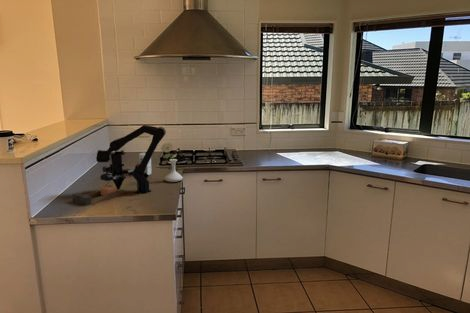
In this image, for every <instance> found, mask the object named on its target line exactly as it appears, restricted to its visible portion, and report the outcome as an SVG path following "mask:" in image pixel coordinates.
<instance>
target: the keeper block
mask: <svg viewBox="0 0 470 313" xmlns="http://www.w3.org/2000/svg"><path fill="white" fill-rule="evenodd" d="M100 190H101V195H100V196H102V195H107V194H110V193H113V192H117V191H118V189H117V187H116V185H110V184H108V185H105V186H101V187H100Z"/></svg>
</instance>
